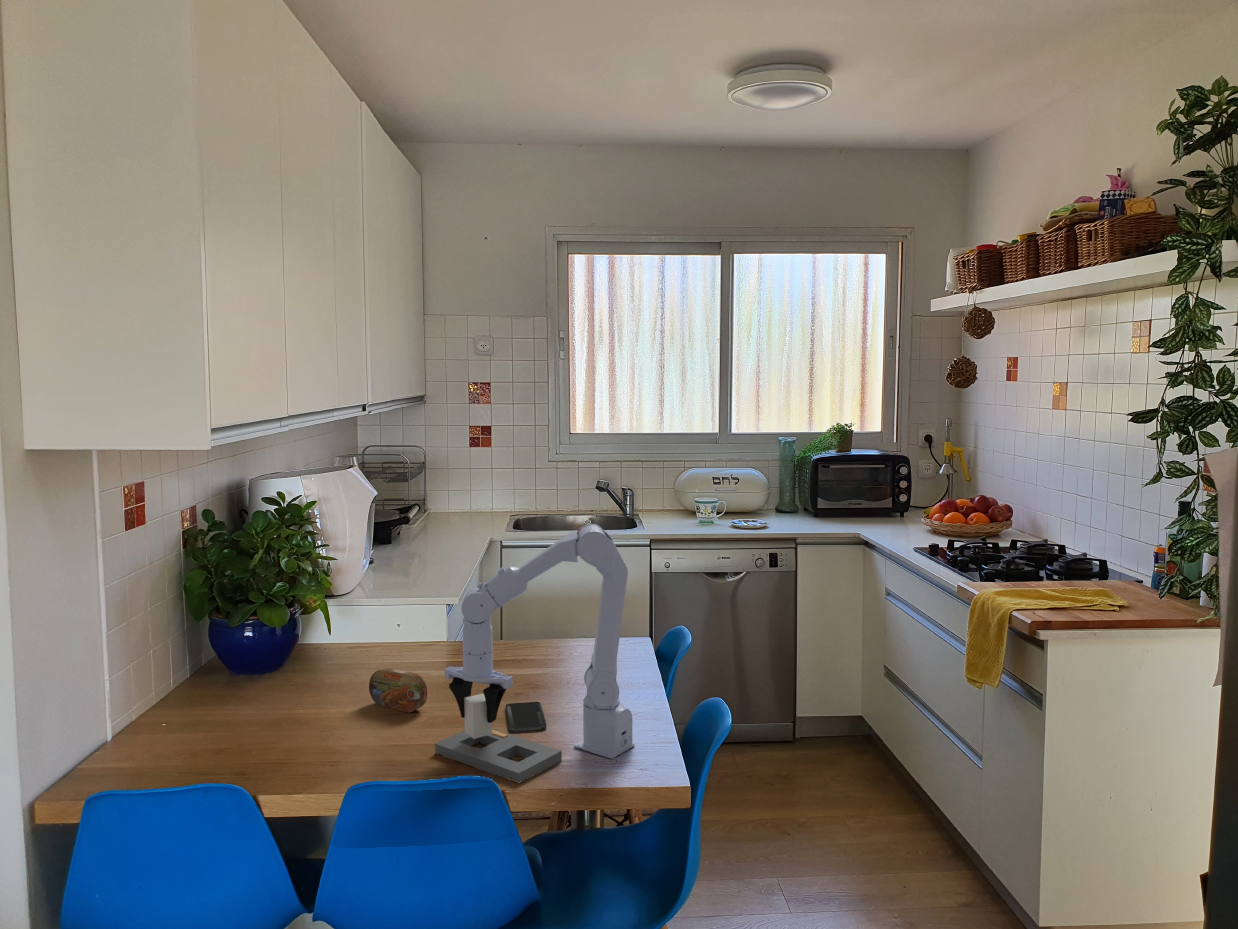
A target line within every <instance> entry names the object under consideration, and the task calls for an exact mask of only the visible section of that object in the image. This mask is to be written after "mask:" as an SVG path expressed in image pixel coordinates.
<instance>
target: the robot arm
mask: <svg viewBox="0 0 1238 929" xmlns="http://www.w3.org/2000/svg"><path fill="white" fill-rule="evenodd" d="M578 557H580V559H581V560H582V561H584V562H585V563H587V564H588V565H590V566H592V567H594V568H596V570H597V571H598V573H599V574H600V575H601V576H602V581H601V582H602V584H601V589H600V590H601V591H600V598H599V607H598V613H597V614H598V615H597V623H596V630H595V637H594V638H595V639H594V647H593V653H592V655H591V658H590V659H591V660H590V663H589V664H590V665H589V666H588V668H587V669H586V670H585V672H584V678H583V680H584V684H585V687H586V695H585V697H584V698H583V700H582V701H583V702H582V703H583V705H582V707H583V710H582V711H583V714H582V715H583V717H582V719H583V728H582V729H583V730H582V731H583V733H582V734H583V738H582V740H580V741H578V742H576V743H574V744H573V747H574V748H576V749H579V750H582V751H586V752H589V753H592V754H595V755H597V756H602V757H605V758H607V759H614V758H615V757H617V756H618V755H620V754H622V753H624V752H626V751H628V750H630V749H632V747H635V746H636V744H635V742H633V714H632V711H631V710H630V709H628V708H626V707H624V706H623V705H622V704H621V702H620V687H619V685H618V682H617V681H618V680H617V677H618V652H619V644H620V636H621V628H622V620H623V612H624V606H625V599H626V591H627V590H626V589H627V584H628V583H627V582H628V575H629V571H628V567H627V565H626V563H625V562H624V559H623V558H622V555H621V553H620V551H619V549H618V548H617V546H616V544H615V543H614V541H613V538H612V536H611V535H609V534H608V533H607V531H605V529H603V528H602V527H601V526H600V525H599V524H595V523H587V524H584V525H582V526H581V527H580V528H579V529H578V530H573V531H570V532H569V533H567V534H565V536H563V537H561V538H559V539H558V540H557V541H555V542H554V543H553V544H551V545H549V546H548V547H546V548H545V549H544V550H542V551H540V553H538V554H537V555H536V556H534V557H533V558H531V559H529V560H528V561H526V562H525V563H524V564H522V565H521V566H520V567H516V566H511V565H510V566H508V567H507V568H505V566H502V567H500V568H499V569H498V570H497V572H498V573H497V574H496V575H494V576H493V577H491V578H488V580H486V581H484V582H483V581H480V582H479V583H477V587H473V588H471V589H470V590H468V591H467V592H466V593H465V595H464V597H463V600H462V602H461V603H462V604H461V614H462V617H463V619H462V623H463V627H462V663H463V664H462V666H448V667H447V668H446V667H445V668H444V679H446V680H450V679H452V681H451V682H450V683H449V684H448V688H449V690H450V691H451V692H452V694H453V696H454V698H455V701H456V703H457V706H458V710H459V713H460V716H461V718H462V719H464V718H465V717H464V698H465V697H470V696H472V689H473V683H477V684H483V685H489V686H487V687H485V688H484V689H482V694H484V696H485V700H486V706H487V721H488V723H492V724H493V722H494V721H496V720H497V717H498V712H499V708H500V705H501V701H502V699H503V697H504V695H505V693H506V691H507V690H509V689H510V688H512V687H513V686H514V682H513V680H514V679H513V676H511V675H507V674H505V673H502V672H498V671H497V670H494V658H493V657H494V656H493V655H494V653H493V652H494V651H493V650H494V649H493V648H494V646H493V643H494V642H493V640H494V638H493V633H494V632H493V626H492V614H493V610H497V609H498V610H499V609H501V608H502V607H504V606H505V605H507V604H508V603H510V602H511V601H513V600H514V599H516V598H517V597H519V596H520V595H522V594H523V593H525V592H527V588H528V583H529V582H530V581H532V580H533V579H535V578H537V577H539V576H540V575H542V574H543V573H545V572H548V570H551V568H554V567H555V566H557V565H559V564H560V563H562V562H571V563H579V561H578Z"/></svg>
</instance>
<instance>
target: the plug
mask: <svg viewBox="0 0 1238 929" xmlns="http://www.w3.org/2000/svg"><path fill="white" fill-rule="evenodd" d="M464 717H465V718H463V719H464V720H463V721H464V731H465V733H466V734H468V735H469V736H470V737H472V738H473V739H475V738H479V737H483V736H487V735H491V734H492V729H493V722H492V723H488V721H487V706H486V700H485V696H484V693H479V694H474V695H471V696H470V697H465V698H464Z"/></svg>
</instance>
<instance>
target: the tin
mask: <svg viewBox="0 0 1238 929" xmlns="http://www.w3.org/2000/svg"><path fill="white" fill-rule="evenodd" d="M368 690H369V694H370V697H371V698H372V699H371V700H372V701H373V702H374V703H375V704H376V705H377V706H379V707H380V706H383V707H382V708H384V707H386V708H385V709H389V708H390V709H391V710H394V709H395V710H394V711H399V712H404V713H413V712H415V711H416V710H419V709H421V708H423V706H424V705H425V704H426V702H427V699H428V687H427V683H426V681H425V680H424V678H423V677H422V676H421V675H419V674H418V673H416V672H413V671H412V672H410V671H404V670H399V669H396V668H395V669H393V668H384V669H378V670H376V671H374V673H372V674H371V676H370V678H369V682H368ZM390 709H389V710H390Z"/></svg>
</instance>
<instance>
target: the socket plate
mask: <svg viewBox="0 0 1238 929" xmlns="http://www.w3.org/2000/svg"><path fill="white" fill-rule="evenodd" d="M479 742H480V743H479ZM482 743H483V744H482ZM474 744H475V745H477V744H482V745H485V744H487V745H485V746H483V747H482V748H477V747H474V746H475V745H474ZM472 745H473V746H472ZM434 749H435V751H434V753H438V754H440V755H439V756H441V755H442V756H441V757H444V756H446V757H449V758H451V759H450V760H452V759H454V760H453V761H455V760H457V761H460V762H462V763H461V764H463V763H465V764H464V765H466V764H467V765H466V766H468V765H470V766H469V767H471V766H473V767H472V768H474V767H475V768H474V769H478V770H480V771H483V772H485V773H488V774H491V775H494V776H496V775H498V776H497V777H499V776H501V777H500V778H502V777H505V778H508V779H511V780H514V781H517V782H520V781H523V780H525V779H527V778H529V777H531V776H532V775H534V776H536V775H538V774H540V773H541V772H540V771H542V772H544V771H546V770H547V769H549V768H551V767H553V766H554V764H555V765H557V764H558V762H559V763H560V762H562V760H563V759H562V756H563V755H562V754H563V753H562V750H560V749H557V748H555V747H551V746H548V745H544V744H543V743H538V742H536V741H533V740H530V739H525V738H523V737H520V736H517V735H514V734H511V733H507V732H504V731H501V730H498V729H495V728H492V734H491V735H487V736H483V737H479V738H475V739H473V738H472V737H470V736H469V735H468V734H466V733H465V730H464V731H461V732H459V733H457V734H454V735H452V736H449V737H447V738H444V739H443V740H440V741H438V742H435V743H434ZM438 754H437V755H438ZM516 754H517V755H516ZM514 755H515V756H518V755H520V756H523V757H526V758H523V757H522V758H523V759H522V760H520V761H515V760H512V759H511V758H513V757H515V756H514ZM512 756H513V757H512ZM520 756H519V757H520ZM446 757H445V758H446ZM510 757H511V758H510ZM449 758H448V759H449ZM508 758H509V759H508ZM457 761H456V762H457ZM460 762H459V763H460ZM556 763H557V764H556ZM548 767H549V768H548ZM546 768H547V769H546ZM545 769H546V770H545ZM543 770H544V771H543ZM539 772H540V773H539ZM537 773H538V774H537ZM535 774H536V775H535ZM531 778H532V777H531ZM529 779H530V778H529ZM527 780H528V779H527ZM525 781H526V780H525ZM523 782H524V781H523Z"/></svg>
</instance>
